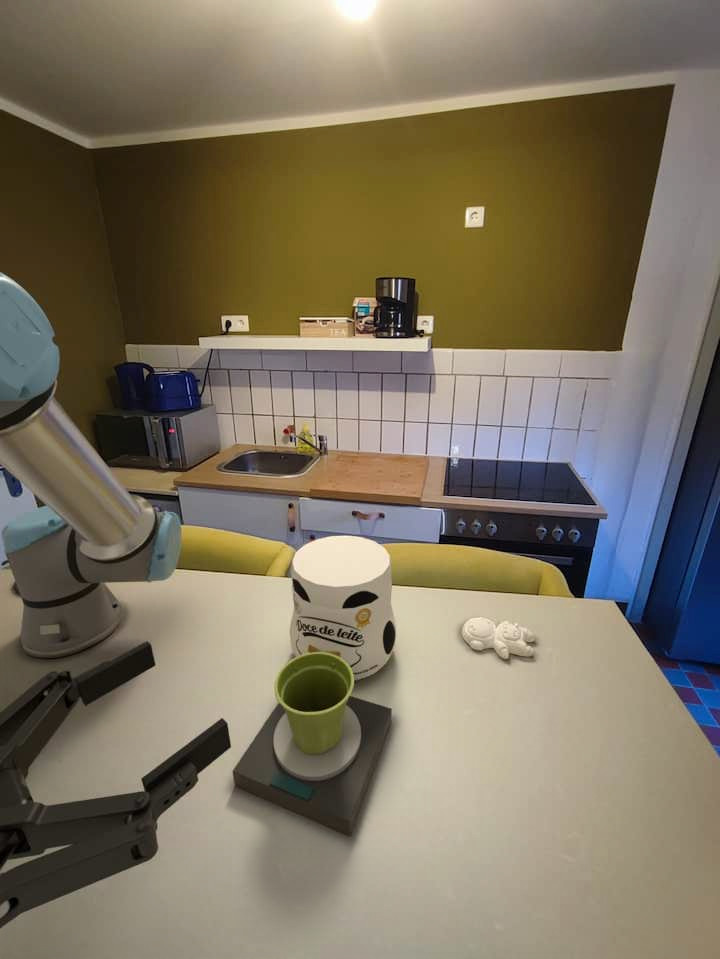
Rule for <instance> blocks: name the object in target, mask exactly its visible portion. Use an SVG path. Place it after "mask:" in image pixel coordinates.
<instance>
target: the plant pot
mask: <svg viewBox="0 0 720 959" xmlns="http://www.w3.org/2000/svg"><path fill="white" fill-rule="evenodd" d="M354 687H355V681H354V675H353V672H352V669H351V668H350V666H349V665H348V663H347V662H346V661H344V660H343V659H342V658H340V657H338V656H336V655H334V654H331V653H325V652H314V653H307V654H303V655H300V656H298V657H293V658H292V659H290V661H288V662H287V663H285V664H284V665H283V666H282V668H280V670H279V672H278V673H277V675H276V678H275V681H274V695H275V697H276V699H277V702H278V703H280V704H281V706H282V707H283V708H284V709H285V711H286V714H287V718H288V721H289V724H290V727H291V731H292V735H293V738H294V741H295V743H296V745H297V746H298V748H299V749H301V750H302V751H303V752H305V753H308V754H314V755H317V754H323V753H324V752H326V751H327V750H329V749H331V748H333V747H335V746H336V745H337V743H338V742H339V740H340V738H341V734H342V728H343V721H344V714H345V708H346V703H347V701H348V698H349V697H350V696H352V694H353V690H354Z"/></svg>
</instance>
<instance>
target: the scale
mask: <svg viewBox="0 0 720 959" xmlns="http://www.w3.org/2000/svg"><path fill="white" fill-rule="evenodd" d="M392 711H393V710H392V708H390V707H388V706H384V705H380V704H377V703H374V702H371V701H369V700H365V699H362V698H359V697H355V696H353V695H350V697H349V698H348V701H347V703H346V708H345V714H344V721H343V728H342V734H341V738H340V740H339V742H338V743H337V745H336V746H335V747H333V748H331V749H329V750H327V751H326V752H324V753H323V754H317V755H314V754H308V753H305V752H303V751H302V750H301V749H299V748H298V746H297V745H296V743H295V741H294V738H293V735H292V731H291V727H290V724H289V721H288V718H287V714H286V711H285V709H284V708H283V707H282V706H281V704H280V703H279V702H278V703H277V704H276V706H275V708H274V709H273V710H272V712H271V713H270V715H269V717H268V718H267V719H266V721H265V722H264V723H263V725H262V726H261V728H260V730H259V731H258V732H257V734H256V735H255V737H254V738H253V740H252V741H251V743H250V744H249V746H248V747H247V749H246V750H245V751H244V753H243V755H242V756H241V758H240V759H239V761H238V762H237V764H236V765H235V767H233V769H232V770H231V771H232V778H233V785H234V786H235V787H237V788H239V789H241V790H244V791H246V792H248V793H251V794H253V795H255V796H257V797H259V798H262V799H264V800H265V801H269V802H271V803H274V804H276V805H278V806H280V807H282V808H285V809H287V810H289V811H291V812H293V813H296V814H298V815H300V816H303V817H304V818H305V817H306V818H307V819H309V820H312V821H314V822H317V823H319V824H321V825H323V826H325V827H328V828H330V829H333V830H335V831H337V832H339V833H342V834H344V835H346V836H349V837H351V835H352V832H353V829H354V826H355V824H356V821H357V818H358V815H359V813H360V810H361V807H362V805H363V802H364V800H365V796H366V794H367V790H368V787H369V786H370V782H371V779H372V777H373V775H374V771H375V768H376V766H377V763H378V760H379V757H380V755H381V752H382V749H383V746H384V745H385V744H384V743H385V741H386V739H387V735H388V732H389V731H390V727H391V725H392V719H393V718H392V714H393V712H392Z"/></svg>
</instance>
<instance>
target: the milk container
mask: <svg viewBox="0 0 720 959" xmlns="http://www.w3.org/2000/svg"><path fill="white" fill-rule="evenodd" d="M290 576H291V581H292V584H291V590H292V591H291V592H292V598H293V599H292V600H293V611H292V615H291V620H290V624H289V640H290V643H291V644H290V645H291V649H292V652H293V654H294V658H296V657H298V656H300V655H303V654H307V653H314V652H325V653H331V654H334V655H336V656H338V657H340V658H342V659H343V660H344V661H346V662H347V663H348V665H349V666H350V668H351V669H352V672H353V675H354V682H358V681H361V680H364V679H366V678H369V677H372V676H373V675H375V674H376V673H377V672H378V671H380V670H382V669H383V667H384V666H385V665H386V664H387V662H388V661H389V659H390V658H391V657H392V654H393V651H394V648H395V643H396V637H397V621H396V618H395V614H394V611H393V608H392V592H393V583H392V582H393V581H392V560H391V555H390V554H389V552H388V551H387V549H386V547H384V546H383V545H381V544H379V543H378V542H377V541H374V540H371V539H368V538H366V537H364V536H363V537H362V536H355V535H331V536H326V537H322V538H317V539H314V540H313V541H310V542H308V543H306V544H304V545H303V546H301V548H299V549H298V550H297V551H296V552H295V554H294V556H293V558H292V560H291V570H290Z"/></svg>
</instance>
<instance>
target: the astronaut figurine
mask: <svg viewBox="0 0 720 959" xmlns="http://www.w3.org/2000/svg"><path fill="white" fill-rule="evenodd" d="M461 635H462V638H463V639H464V641H465V642H466V643H467V644H468V645H469V646H470V648H471V649H472V650H474V651H483V650H484V649H485V650H487V649H493V650H494V651H495V652H496V654H497V655H498V657H500V658H502V659H503V660H508V659H509V656H510V654H512V655H516V656H520V657H526V658H529V657H531V656H532V657H533V655H534V653H535V650H534V649H533V648H532V646H531V645H528V643H533V642H534V641H535V640H536V634H535V633H533V631H531V630H529V629H528V628H526V627H522V626H519V622H515V623H514V624H513V623H511V622H510V621H508V620H504V621H501V622H500V623H499V624H498V625H497V626H496V624H495V623H494V621H492V620H491V619H488V618H486V617H484V616H478V617H472V618H470V619H468V620H466V621H465V623H464V624H463V626H462V630H461Z"/></svg>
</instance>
